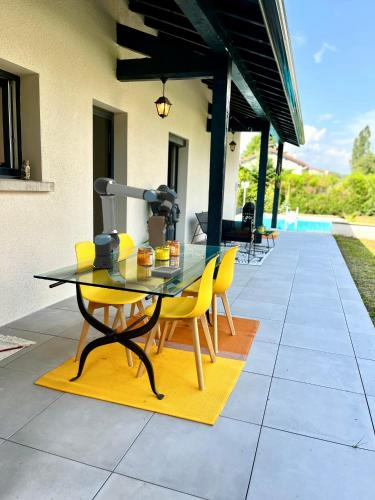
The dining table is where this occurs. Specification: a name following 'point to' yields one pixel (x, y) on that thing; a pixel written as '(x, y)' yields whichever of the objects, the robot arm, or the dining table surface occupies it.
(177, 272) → the baseplate
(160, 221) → the block
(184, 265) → the dining table surface
